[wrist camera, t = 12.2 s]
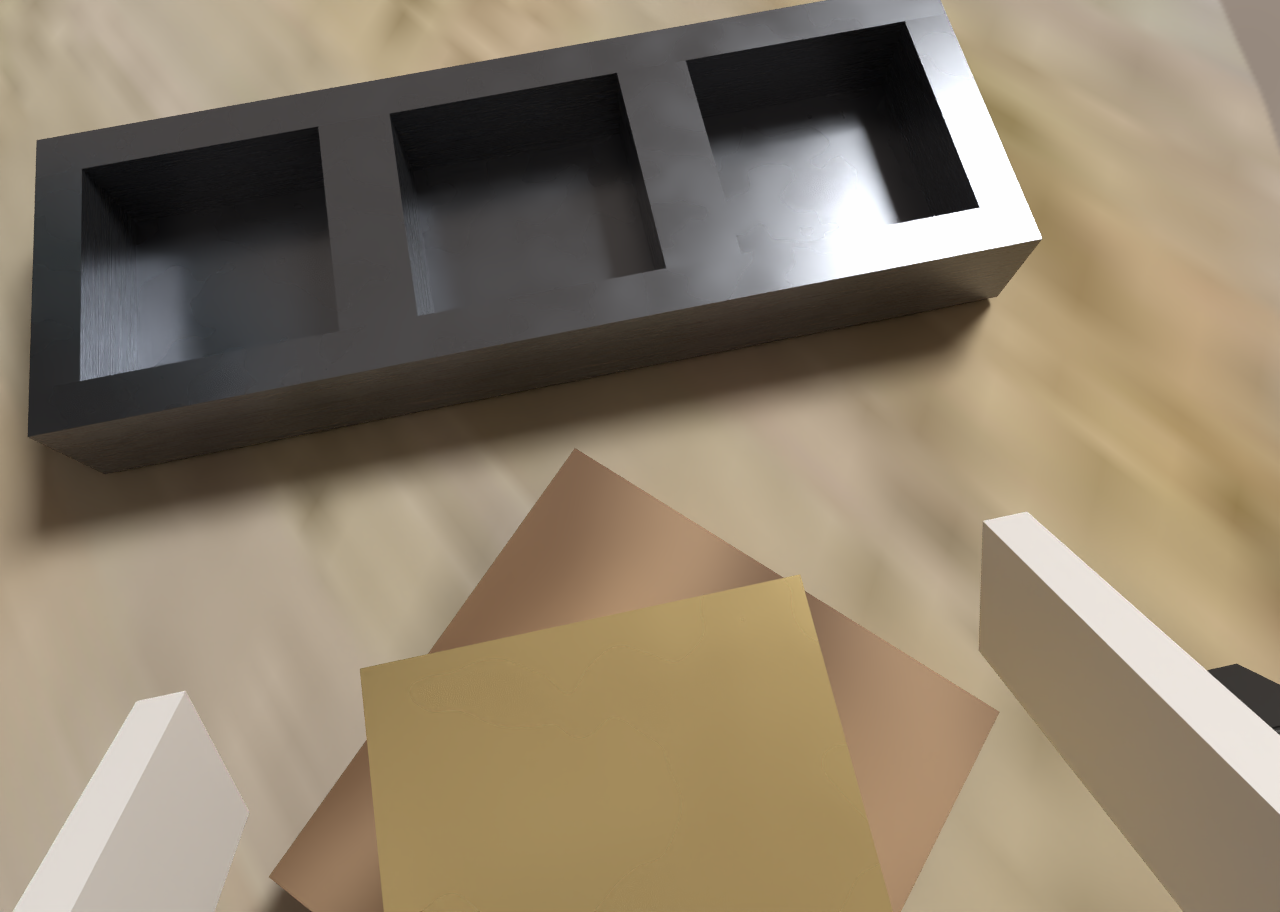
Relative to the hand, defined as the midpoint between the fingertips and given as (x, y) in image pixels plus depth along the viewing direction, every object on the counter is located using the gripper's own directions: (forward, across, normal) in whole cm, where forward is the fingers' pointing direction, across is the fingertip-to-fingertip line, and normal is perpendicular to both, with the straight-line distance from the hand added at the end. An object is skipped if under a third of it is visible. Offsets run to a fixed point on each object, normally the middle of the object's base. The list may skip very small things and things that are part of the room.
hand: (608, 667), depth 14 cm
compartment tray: (+15, 0, +4) cm, 15 cm away
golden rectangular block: (+3, 0, -6) cm, 7 cm away
